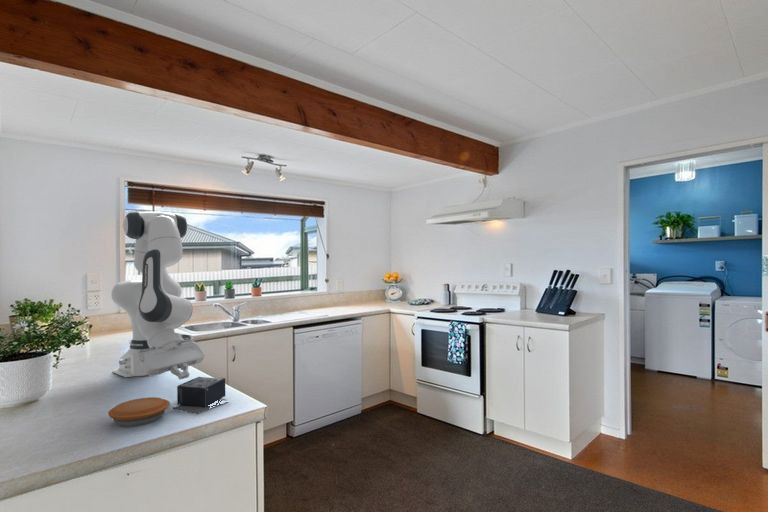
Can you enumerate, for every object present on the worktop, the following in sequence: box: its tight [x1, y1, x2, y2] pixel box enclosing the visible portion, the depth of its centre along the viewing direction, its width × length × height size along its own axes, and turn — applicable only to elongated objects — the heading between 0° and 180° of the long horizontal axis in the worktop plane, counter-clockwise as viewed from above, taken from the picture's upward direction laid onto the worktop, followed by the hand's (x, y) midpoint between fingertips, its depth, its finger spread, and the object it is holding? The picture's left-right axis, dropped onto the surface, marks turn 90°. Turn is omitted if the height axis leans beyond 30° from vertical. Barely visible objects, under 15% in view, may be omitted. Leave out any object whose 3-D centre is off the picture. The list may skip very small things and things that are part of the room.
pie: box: [107, 397, 171, 428], centre depth 118 cm, size 16×16×5 cm
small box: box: [176, 376, 226, 407], centre depth 133 cm, size 11×6×10 cm
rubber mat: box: [172, 399, 223, 415], centre depth 130 cm, size 11×12×1 cm
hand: (184, 377), depth 134 cm, fingers closed
